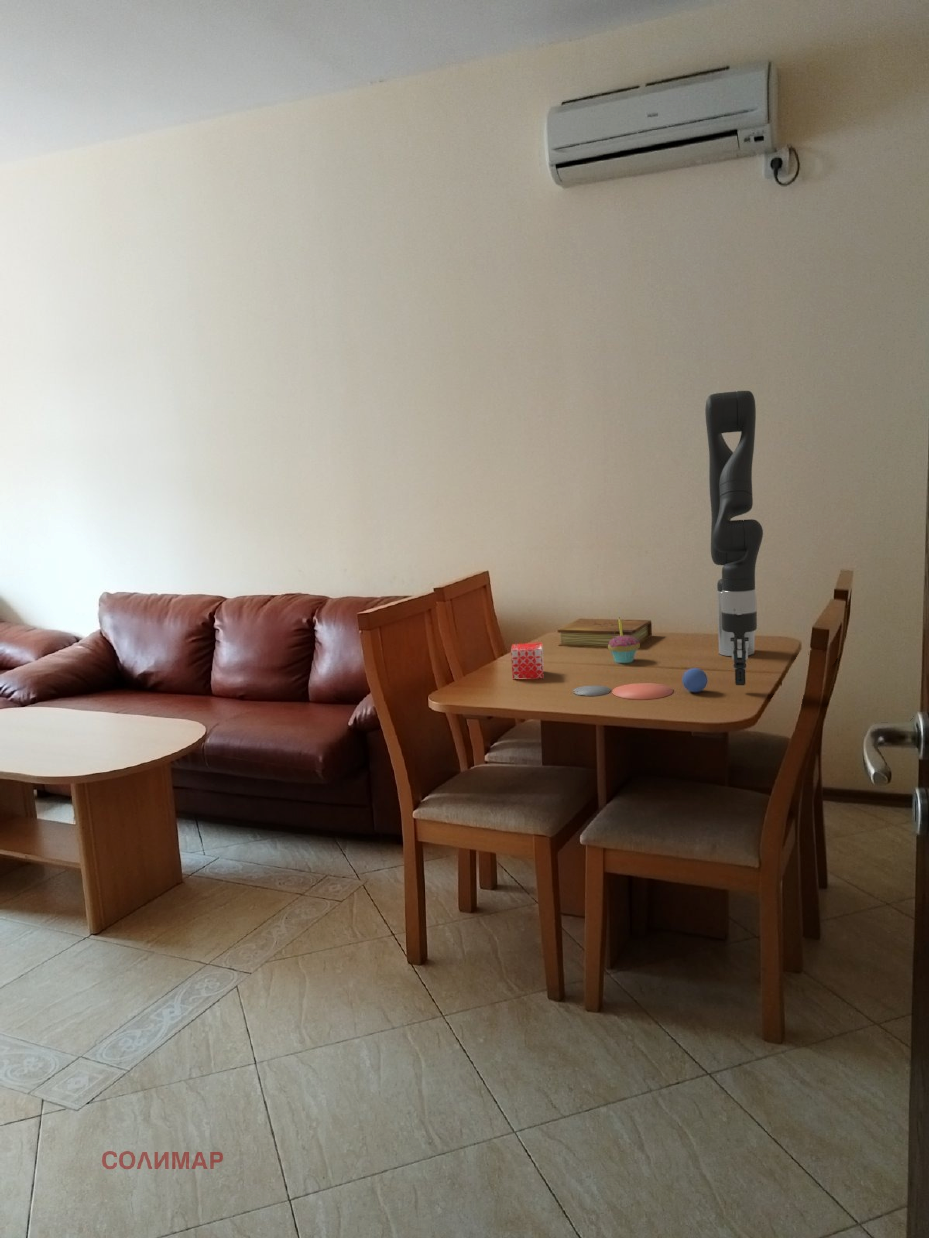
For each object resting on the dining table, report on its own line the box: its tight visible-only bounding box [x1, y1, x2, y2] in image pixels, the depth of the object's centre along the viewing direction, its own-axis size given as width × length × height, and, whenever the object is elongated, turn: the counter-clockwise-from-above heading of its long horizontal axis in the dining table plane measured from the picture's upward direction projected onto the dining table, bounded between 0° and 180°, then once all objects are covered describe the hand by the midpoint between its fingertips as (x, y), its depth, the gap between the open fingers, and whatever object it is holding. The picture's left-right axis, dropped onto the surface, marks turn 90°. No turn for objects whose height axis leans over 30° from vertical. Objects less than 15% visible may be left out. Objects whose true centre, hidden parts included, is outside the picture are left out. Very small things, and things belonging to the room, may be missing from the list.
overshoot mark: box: [572, 685, 612, 697], centre depth 209 cm, size 9×9×1 cm
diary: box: [557, 618, 653, 649], centre depth 264 cm, size 23×19×6 cm
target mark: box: [611, 682, 674, 701], centre depth 205 cm, size 14×14×1 cm
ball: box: [681, 667, 708, 693], centre depth 201 cm, size 6×6×6 cm
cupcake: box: [607, 616, 641, 664], centre depth 236 cm, size 9×8×12 cm
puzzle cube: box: [510, 642, 545, 679], centre depth 228 cm, size 8×8×8 cm
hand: (740, 684), depth 198 cm, fingers closed
